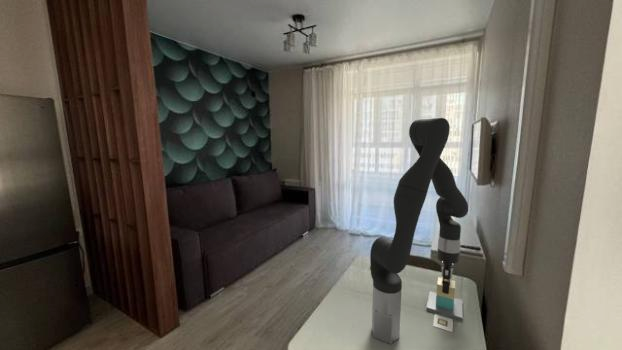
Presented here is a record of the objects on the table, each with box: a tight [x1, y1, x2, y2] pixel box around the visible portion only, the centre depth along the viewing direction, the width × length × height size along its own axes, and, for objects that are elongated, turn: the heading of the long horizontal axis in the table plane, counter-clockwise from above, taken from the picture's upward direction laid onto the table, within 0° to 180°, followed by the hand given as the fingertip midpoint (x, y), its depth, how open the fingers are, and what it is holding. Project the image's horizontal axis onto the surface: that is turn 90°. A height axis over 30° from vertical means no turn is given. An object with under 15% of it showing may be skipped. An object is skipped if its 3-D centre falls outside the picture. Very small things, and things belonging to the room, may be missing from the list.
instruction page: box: [432, 313, 454, 333], centre depth 91 cm, size 7×6×1 cm
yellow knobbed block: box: [436, 276, 456, 299], centre depth 99 cm, size 6×6×6 cm
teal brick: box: [436, 294, 454, 310], centre depth 99 cm, size 6×6×6 cm
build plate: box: [426, 290, 464, 322], centre depth 100 cm, size 12×12×2 cm
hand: (445, 287), depth 99 cm, fingers open, 8 cm apart
